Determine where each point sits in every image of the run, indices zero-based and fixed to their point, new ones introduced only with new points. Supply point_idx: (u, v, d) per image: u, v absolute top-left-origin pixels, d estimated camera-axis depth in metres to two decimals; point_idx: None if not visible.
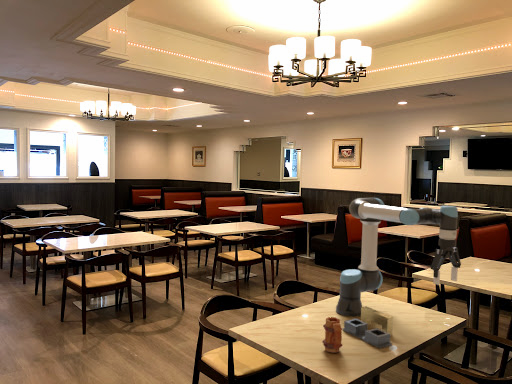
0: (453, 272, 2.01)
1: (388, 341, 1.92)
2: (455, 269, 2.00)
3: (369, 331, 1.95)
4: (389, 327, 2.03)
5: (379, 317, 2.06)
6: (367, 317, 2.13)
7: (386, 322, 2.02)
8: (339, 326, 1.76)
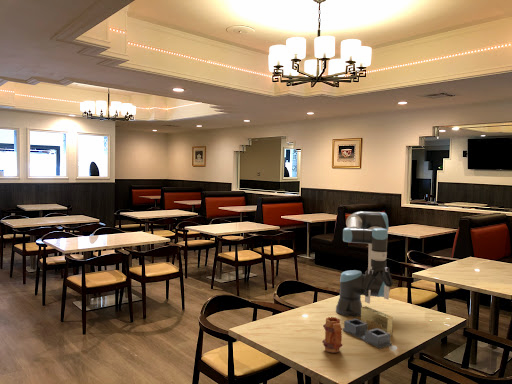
0: (385, 291, 2.13)
1: (388, 341, 1.92)
2: (387, 288, 2.12)
3: (369, 331, 1.95)
4: (389, 327, 2.03)
5: (379, 317, 2.06)
6: (367, 317, 2.13)
7: (386, 322, 2.02)
8: (339, 326, 1.76)
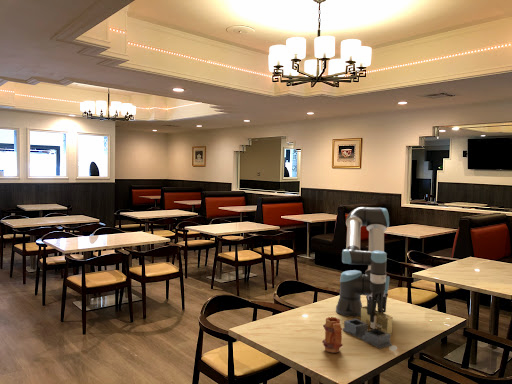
0: None
1: (388, 341, 1.92)
2: None
3: (369, 331, 1.95)
4: (389, 327, 2.03)
5: (379, 317, 2.06)
6: (367, 317, 2.13)
7: (386, 322, 2.02)
8: (339, 326, 1.76)
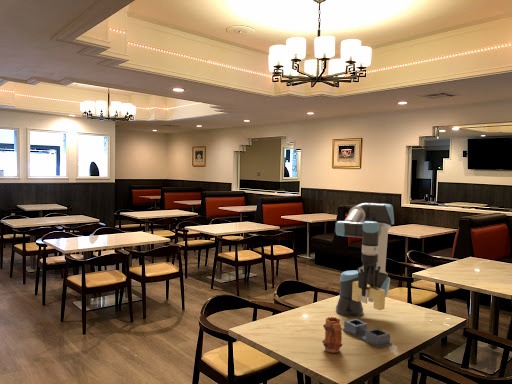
0: None
1: (388, 341, 1.92)
2: None
3: (369, 331, 1.95)
4: (381, 301, 1.91)
5: (371, 290, 1.94)
6: (359, 291, 2.01)
7: (379, 295, 1.90)
8: (339, 326, 1.76)
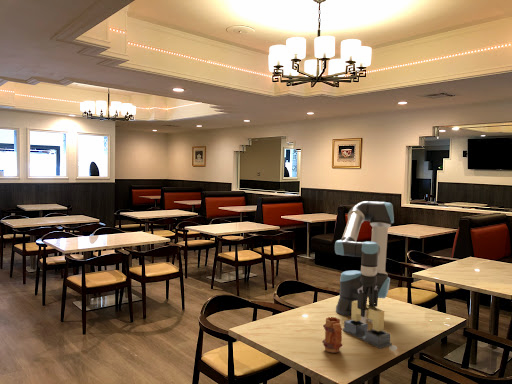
0: None
1: (388, 341, 1.92)
2: None
3: (369, 331, 1.95)
4: (381, 322, 1.92)
5: (370, 311, 1.95)
6: (358, 312, 2.02)
7: (378, 316, 1.91)
8: (339, 326, 1.76)
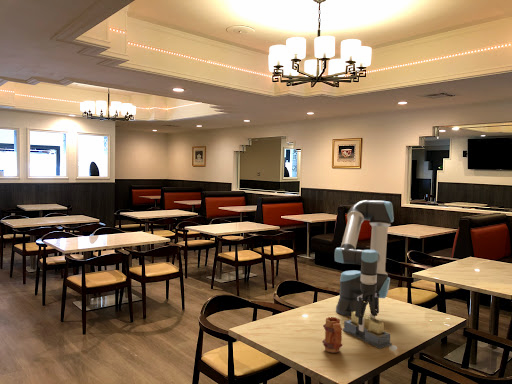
0: None
1: (388, 341, 1.92)
2: (372, 317, 2.00)
3: (369, 331, 1.95)
4: (380, 333, 1.92)
5: (370, 322, 1.95)
6: (357, 322, 2.02)
7: (377, 328, 1.91)
8: (339, 326, 1.76)
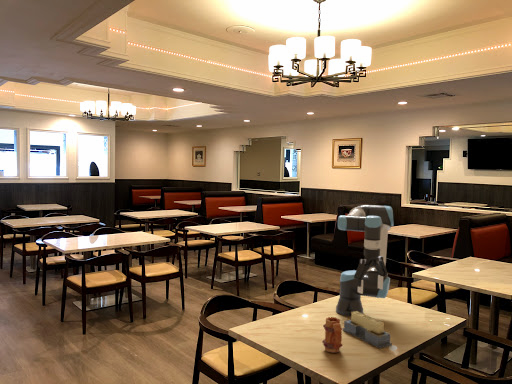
0: (379, 280, 2.05)
1: (388, 341, 1.92)
2: (381, 277, 2.04)
3: (369, 331, 1.95)
4: (380, 333, 1.92)
5: (370, 322, 1.95)
6: (357, 322, 2.02)
7: (377, 328, 1.91)
8: (339, 326, 1.76)
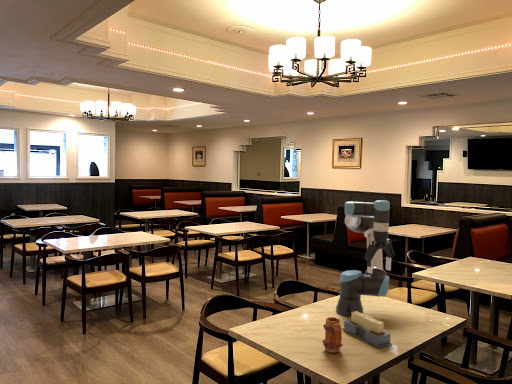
0: (387, 262, 2.16)
1: (388, 341, 1.92)
2: (389, 259, 2.16)
3: (369, 331, 1.95)
4: (380, 333, 1.92)
5: (370, 322, 1.95)
6: (357, 322, 2.02)
7: (377, 328, 1.91)
8: (339, 326, 1.76)
